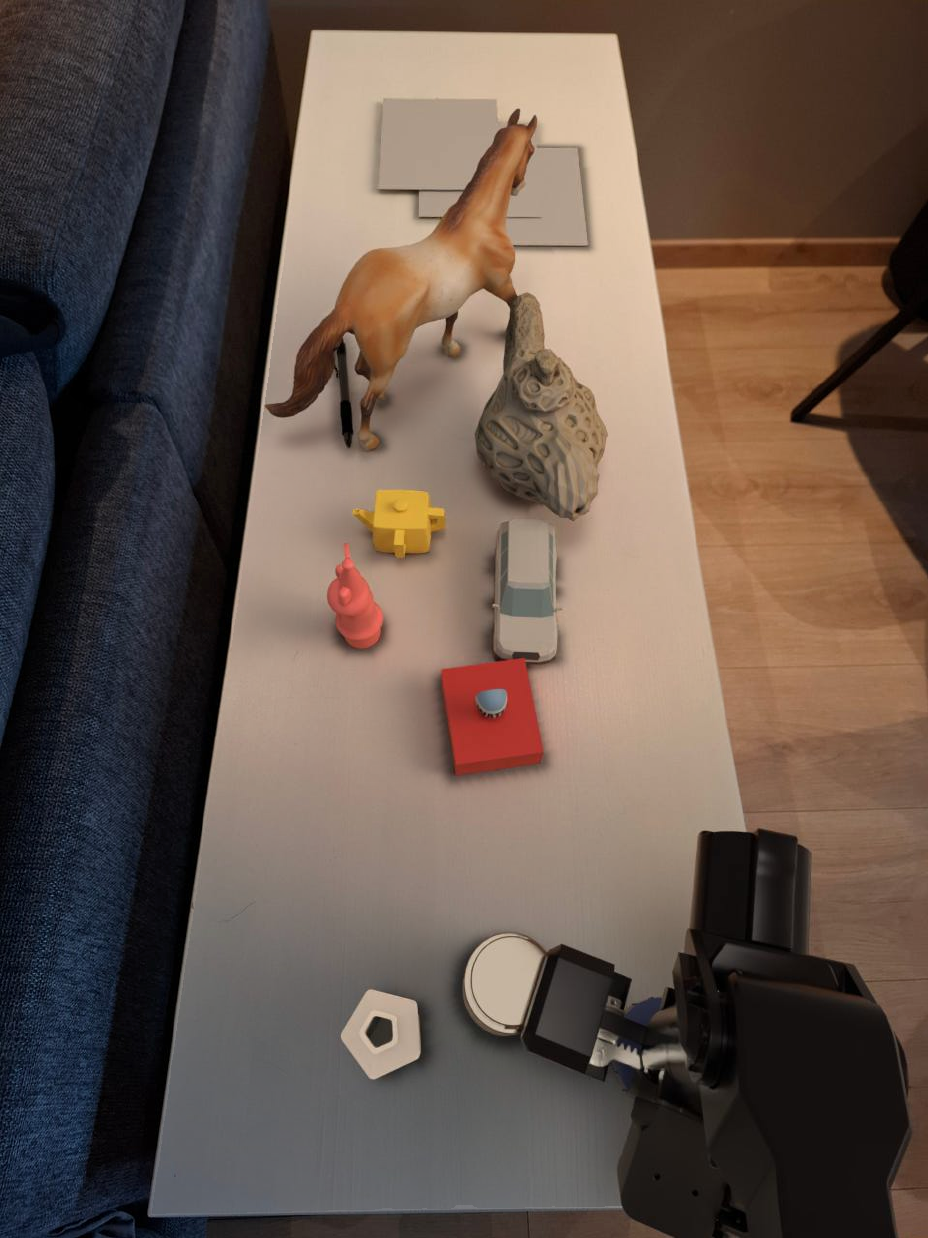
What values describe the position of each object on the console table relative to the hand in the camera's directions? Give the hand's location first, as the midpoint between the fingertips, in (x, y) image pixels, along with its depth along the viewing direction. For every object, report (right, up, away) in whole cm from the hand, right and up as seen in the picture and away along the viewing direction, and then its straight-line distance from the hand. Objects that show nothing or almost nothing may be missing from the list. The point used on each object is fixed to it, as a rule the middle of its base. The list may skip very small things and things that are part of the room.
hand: (656, 1055), depth 57 cm
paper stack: (-11, +81, +43) cm, 93 cm away
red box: (-11, +21, +13) cm, 26 cm away
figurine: (-22, +28, +17) cm, 39 cm away
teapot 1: (-19, +36, +21) cm, 45 cm away
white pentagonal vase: (-18, 0, +2) cm, 18 cm away
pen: (-25, +51, +28) cm, 63 cm away
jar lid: (0, +1, -2) cm, 2 cm away
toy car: (-8, +30, +18) cm, 36 cm away
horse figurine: (-19, +54, +30) cm, 64 cm away
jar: (-10, +3, +4) cm, 11 cm away
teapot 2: (-6, +44, +25) cm, 50 cm away
